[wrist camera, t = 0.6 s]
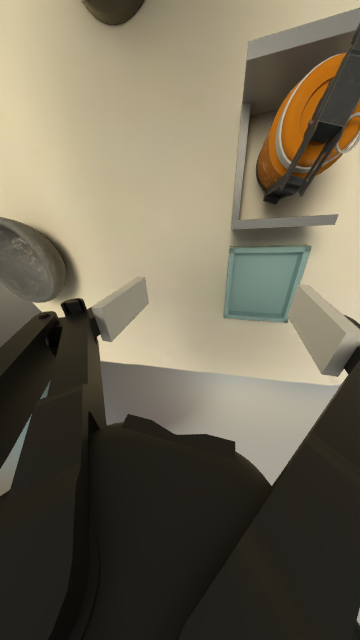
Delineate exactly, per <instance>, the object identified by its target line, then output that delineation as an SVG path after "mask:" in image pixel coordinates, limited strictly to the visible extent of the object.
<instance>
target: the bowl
mask: <svg viewBox="0 0 360 640" xmlns="http://www.w3.org/2000/svg"><path fill="white" fill-rule="evenodd" d="M65 279H66V268H65V264H64V262H63V259H62V258H61V256H60V254H59V252H58V251H57V249H56V248H55V247H54V245H53V244H52V243H51V242H50V241H49V240H48V239H47V238H45V237H44V236H43V235H42V234H41V233H39V232H38V231H36V230H35V229H33V228H32V227H30V226H27V225H25V224H23V223H20V222H17V221H14V220H11V219H7V218H3V217H0V281H1V283H2V284H3V285H5V286H6V287H7V288H8V289H9V290H10V291H12V292H13V293H15V294H16V295H18V296H19V297H21V298H23V299H25V300H28V301H31V302H36V303H41V302H47V301H50V300H52V299H53V298H55V297H56V296H57V295H58V294H59V293H60V292H61V290H62V289H63V287H64V284H65Z"/></svg>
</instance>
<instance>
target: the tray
mask: <svg viewBox="0 0 360 640" xmlns="http://www.w3.org/2000/svg"><path fill="white" fill-rule="evenodd" d="M311 247H312V246H308V245H268V246H230V251H229V263H228V274H227V285H226V296H225V307H224V318H232V319H245V320H258V321H271V322H284V323H288V320H289V317H288V316H287V315H288V312H289V309H290V306H291V303H292V300H293V297H294V294H295V292H296V289H297V286H298V285H300V282H301V278H302V275H303V272H304V269H305V266H306V262H307V259H308V256H309V253H310V250H311Z"/></svg>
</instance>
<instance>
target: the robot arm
mask: <svg viewBox="0 0 360 640" xmlns="http://www.w3.org/2000/svg"><path fill="white" fill-rule="evenodd" d="M82 1H83V2H84V4H85V5H86V7H87V8H88V9H89V11H90V12H91V13H92V14H93V15H94V16H95V17H96V18H98V19H99V20H100V21H102V22H104V23H107V24H120V23H122V22H124V21H126V20H128V19H129V18H130V17H131V16H132V15H133V14H134V13H135V12H136V11H137V10H138V8H139V7H140V5H141V4H142V2H143V0H82ZM147 304H148V295H147V288H146V281H145V277H137V278H136V279H134V280H132V281H131V282H129V283H128V284H126V285H125V286H123V287H122V288H120V289H118V290H117V291H115V292H114V293H112V294H111V295H109V296H108V297H106V298H105V299H103V300H101V301H100V302H98V303H97V304H95V305H94V306H92V307H91V308H89V309H86V306H85V303H84V301H83V299H81V298H76V299H70V300H67V301H64V302H63V303H61V307H62V309H63V311H64V314H65V317H62V318H58V316H57V314H56V313H55V312H53V311H49V312H43V313H40V314H38V315H36V316H34V317H33V318H32V319H31V320H30V321H29V322H28V323H27V324H25V325H24V326H23V327H22V328H21V329H20V330H19V331H18V332H17V333H16V334H15V335H14V336H12V337H11V338H10V339H9V340H8V341H7V342H6V343H5V344H4V345H2V346H1V347H0V468H1V467H2V465H3V464H4V462H5V460H6V459H7V457H8V455H9V454H10V452H11V450H12V448H13V447H14V445H15V443H16V441H17V439H18V437H19V436H20V434H21V432H22V430H23V428H24V427H25V425H26V423H27V421H28V419H29V418H30V416H31V414H32V416H31V419H30V423H29V426H28V430H27V434H26V436H25V440H24V444H23V447H22V451H21V454H20V457H19V461H18V464H17V468H16V471H15V475H14V478H13V482H12V485H11V489H10V490H9V491H7V492H6V493H5V494H3V495H2V496H0V640H360V625H359V623H358V622H357V616H358V612H359V608H360V324H359V323H358V322H356V321H355V320H354V319H352V318H350V317H348V316H346V315H343V314H341V313H340V312H339V311H338V310H337V309H336V308H335V307H333V306H332V305H331V304H330V303H329V302H328V301H326V300H325V299H324V298H323V297H322V296H321V295H319V294H318V293H317V292H316V291H315V290H314V289H312V288H311V287H310V286H309V285H298V286H297V289H296V292H295V294H294V297H293V300H292V303H291V306H290V309H289V312H288V315H287V316H288V317H289V319H290V321H291V323H292V324H293V326H294V328H295V329H296V331H297V333H298V335H299V336H300V338H301V340H302V341H303V343H304V345H305V347H306V348H307V350H308V352H309V353H310V355H311V357H312V358H313V360H314V362H315V364H316V365H317V367H318V369H319V370H320V372H321V374H324V375H330V376H337V377H338V376H339V375H340V373H341V372H342V371H343V369H345V370H346V372H347V373H348V374H349V375H348V376H347V377H346V379H345V380H344V382H343V383H342V384H341V386H340V387H339V389H338V391H337V392H336V394H335V395H334V396H333V398H332V399H331V401H330V402H329V404H328V405H327V407H326V408H325V410H324V411H323V412H322V414H321V415H320V417H319V418H318V420H317V421H316V423H315V424H314V426H313V427H312V429H311V430H310V431H309V433H308V435H307V436H306V438H305V439H304V440H303V442H302V443H301V445H300V446H299V448H298V449H297V451H296V452H295V454H294V455H293V456H292V458H291V460H290V461H289V462H288V464H287V465H286V467H285V468H284V470H283V471H282V472H281V474H280V475H279V477H278V478H277V479H276V481H275V482H274V484H273V485H272V486H271V485H270V483H269V482H268V481H267V480H266V479H265V477H264V476H263V474H262V473H261V472H259V470H258V469H257V468H256V467H255V466H254V465H253V464H252V463H251V462H250V461H249V460H247V459H246V458H245V457H243V456H242V455H240V454H239V453H237V452H235V442H234V441H230V440H226V439H223V438H219V437H215V436H210V435H207V434H195V435H193V434H192V435H175V434H173V433H171V432H170V431H168V430H167V429H165V428H163V427H162V426H160V425H159V424H157V423H155V422H154V421H152V420H149V419H145V418H142V417H138V416H134V415H130V414H128V415H127V417H126V419H125V421H124V422H120V423H115V424H112V425H108V426H107V424H106V417H105V406H104V396H103V386H102V376H101V365H100V355H99V344H98V339H97V336H99V335H101V338H102V340H103V341H108V342H112V341H113V340H114V339H115V338H116V337H117V336H118V335H119V334H120V333H121V332H122V331H123V330H124V329H125V327H126V326H127V325H128V324H129V323H130V322H131V321H132V320H133V319H134V318H135V317H136V316H137V315H138V314H139V313H140V312H141V311H142V310H143V309H144V308H145V306H146V305H147ZM50 380H51V382H50ZM49 382H50V386H49V390H48V395H47V397H46V398H42V399H40V398H41V396H42V394H43V392H44V391H45V389H46V387H47V385H48V383H49Z"/></svg>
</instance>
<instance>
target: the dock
mask: <svg viewBox="0 0 360 640" xmlns="http://www.w3.org/2000/svg"><path fill="white" fill-rule="evenodd" d="M359 23H360V8H357V9H354V10H351V11H347V12H344V13H341V14H337V15H334V16H331V17H328V18H324V19H321V20H318V21H315V22H311V23H308V24H305V25H301V26H298V27H295V28H292V29H288V30H285V31H282V32H279V33H275V34H272V35H269V36H265V37H262V38H259V39H256V40H252V41H249V42H248V51H247V61H246V71H245V81H244V91H243V101H242V111H241V122H240V134H239V145H238V156H237V167H236V179H235V190H234V201H233V213H232V224H231V229H232V230H235V229H255V228H276V227H297V226H317V225H335V223H336V220H337V217H338V214H335V215H319V216H303V217H286V218H270V219H253V220H239V210H240V201H241V191H242V182H243V173H244V163H245V154H246V144H247V135H248V125H249V116H253V115H257V114H262V113H267V112H272V111H277V110H279V108H280V106H281V105H282V103H283V101H284V100H285V98H286V97H287V95H288V94H289V93H290V92H291V90H292V89H293V88H294V87H295V86H296V85H297V84H298V83H299V82H300V81H301V80H302V79H303V78H304V77H305V76H306V75H307V74H308V73H309V72H310V71H311V70H312V69H313V68H315V67H316V66H317V65H319V64H320V63H321V62H323V61H324V60H326V59H328V58H330V57H332V56H335V55H338V54H342V53H347V52H348V51H349V49H350V48H351V46H352V45H351V42H352V40H353V39H352V38H353V35H354V33H355V31H356V29H357V27H358V25H359Z"/></svg>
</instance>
